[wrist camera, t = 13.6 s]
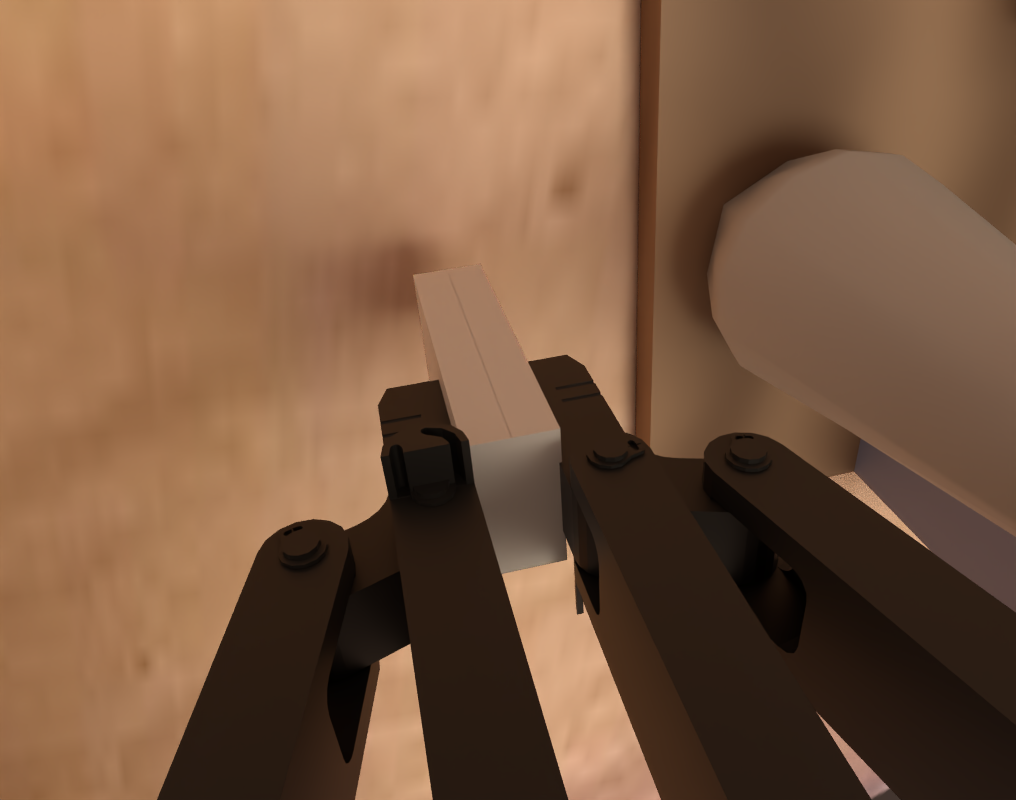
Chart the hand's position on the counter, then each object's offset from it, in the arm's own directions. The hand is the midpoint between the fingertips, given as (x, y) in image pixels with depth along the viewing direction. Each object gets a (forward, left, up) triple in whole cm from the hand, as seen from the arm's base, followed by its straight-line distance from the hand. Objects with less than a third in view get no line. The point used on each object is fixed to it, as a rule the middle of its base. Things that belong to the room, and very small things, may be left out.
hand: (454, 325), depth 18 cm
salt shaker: (+9, 0, -2) cm, 9 cm away
